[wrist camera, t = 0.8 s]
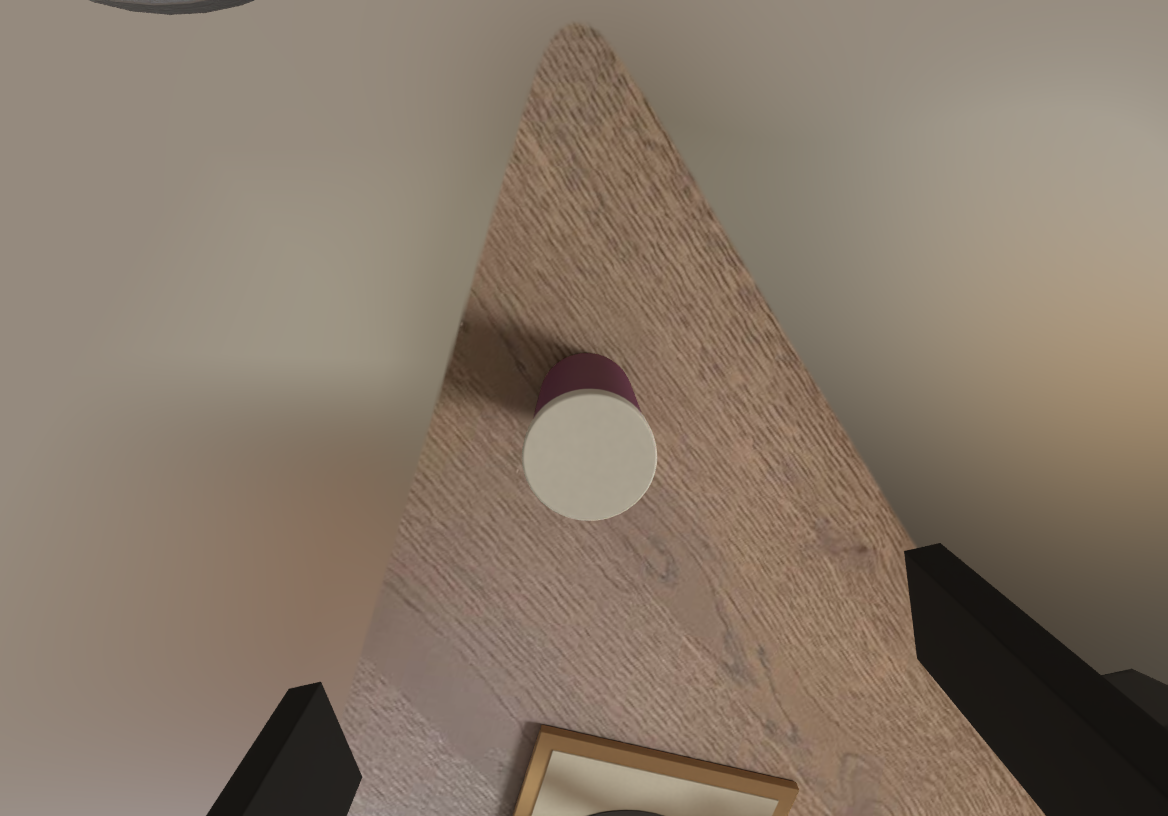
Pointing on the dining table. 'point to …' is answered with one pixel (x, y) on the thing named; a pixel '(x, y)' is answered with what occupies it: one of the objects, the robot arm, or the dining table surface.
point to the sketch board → (639, 782)
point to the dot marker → (588, 441)
